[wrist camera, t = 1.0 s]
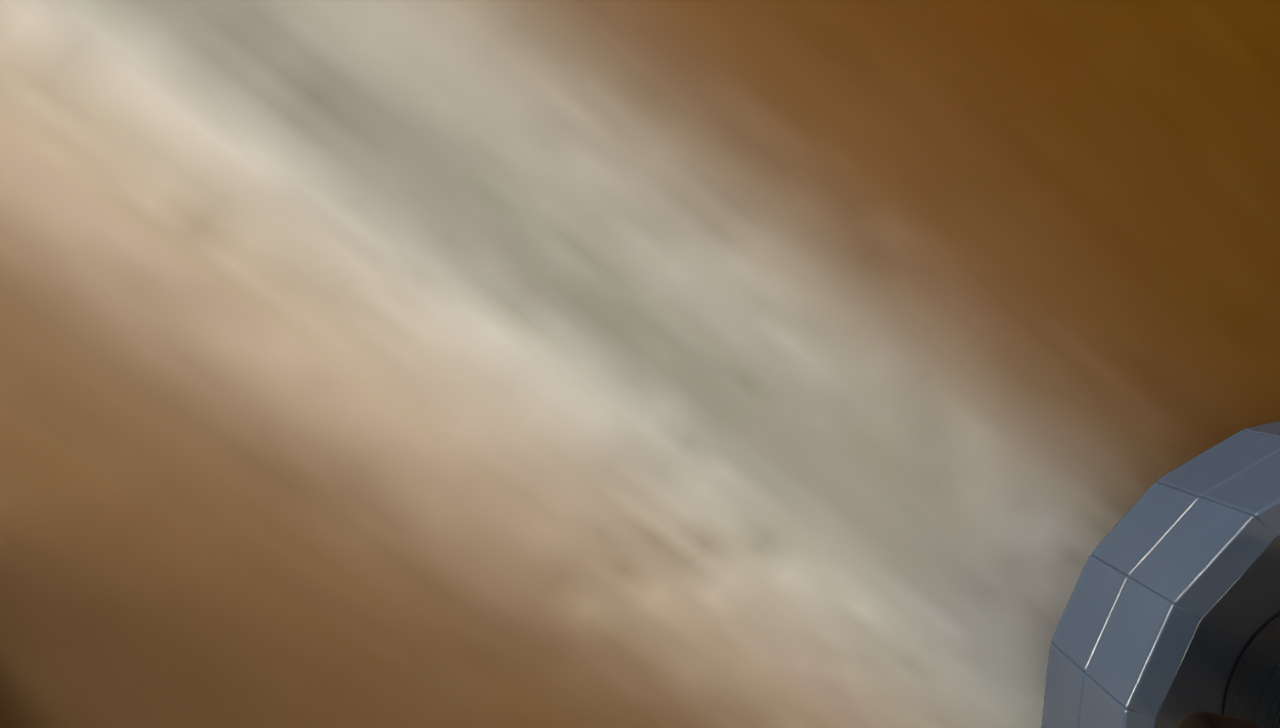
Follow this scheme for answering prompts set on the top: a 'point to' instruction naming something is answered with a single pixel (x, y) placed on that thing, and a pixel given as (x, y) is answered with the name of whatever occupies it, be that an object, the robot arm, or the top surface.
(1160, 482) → the blue bowl
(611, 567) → the top surface
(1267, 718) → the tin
